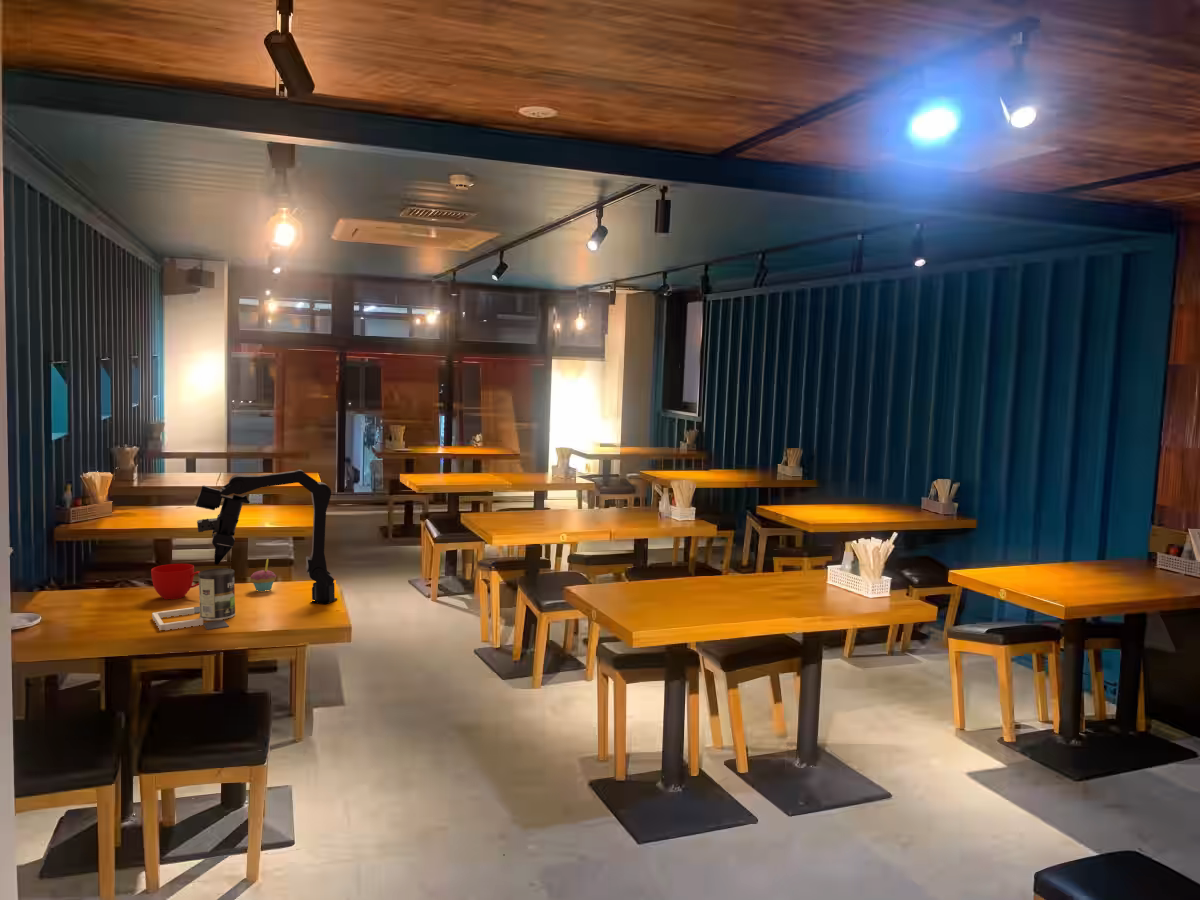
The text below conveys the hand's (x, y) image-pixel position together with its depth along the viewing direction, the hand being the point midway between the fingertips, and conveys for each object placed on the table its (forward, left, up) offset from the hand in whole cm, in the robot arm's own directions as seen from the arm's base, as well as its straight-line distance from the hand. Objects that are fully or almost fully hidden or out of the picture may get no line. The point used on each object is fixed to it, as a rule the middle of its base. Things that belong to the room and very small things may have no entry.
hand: (216, 561), depth 274 cm
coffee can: (-4, +5, -16) cm, 17 cm away
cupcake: (+3, -26, -16) cm, 31 cm away
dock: (+3, +14, -16) cm, 21 cm away
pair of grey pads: (-3, +7, -16) cm, 17 cm away
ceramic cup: (+23, -9, -16) cm, 30 cm away
